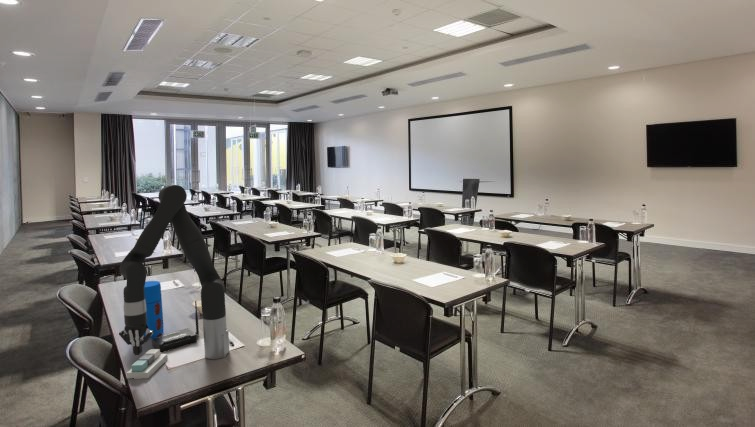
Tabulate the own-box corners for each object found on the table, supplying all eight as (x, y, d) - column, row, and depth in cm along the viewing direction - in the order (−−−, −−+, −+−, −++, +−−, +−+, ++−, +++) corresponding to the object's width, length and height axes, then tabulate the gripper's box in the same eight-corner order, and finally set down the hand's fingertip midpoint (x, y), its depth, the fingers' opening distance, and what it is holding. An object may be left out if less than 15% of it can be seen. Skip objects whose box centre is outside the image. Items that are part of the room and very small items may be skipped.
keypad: (167, 359, 181) (167, 353, 181) (148, 378, 165) (147, 372, 165) (148, 359, 181) (148, 353, 180) (127, 378, 165) (126, 372, 165)
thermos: (150, 340, 200) (147, 288, 196) (133, 337, 203) (129, 286, 200) (169, 331, 210) (165, 281, 207) (151, 329, 213) (148, 280, 210)
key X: (154, 361, 175) (153, 354, 174) (149, 366, 171) (148, 359, 170) (144, 361, 175) (143, 354, 174) (139, 366, 171) (138, 359, 170)
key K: (160, 356, 180) (159, 349, 179) (155, 360, 176) (154, 353, 175) (150, 356, 180) (150, 349, 179) (145, 360, 176) (145, 353, 175)
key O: (147, 367, 170) (147, 360, 169) (142, 372, 166) (141, 365, 165) (137, 367, 170) (137, 360, 169) (132, 372, 166) (131, 365, 165)
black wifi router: (161, 354, 186) (158, 316, 183) (150, 345, 195) (148, 308, 193) (207, 341, 200) (205, 305, 197) (195, 332, 209) (193, 298, 207)
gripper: (157, 308, 169) (159, 350, 171) (123, 307, 169) (126, 350, 171) (147, 315, 161) (149, 359, 163) (112, 314, 161) (115, 358, 163)
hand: (137, 354), depth 167 cm, fingers closed
